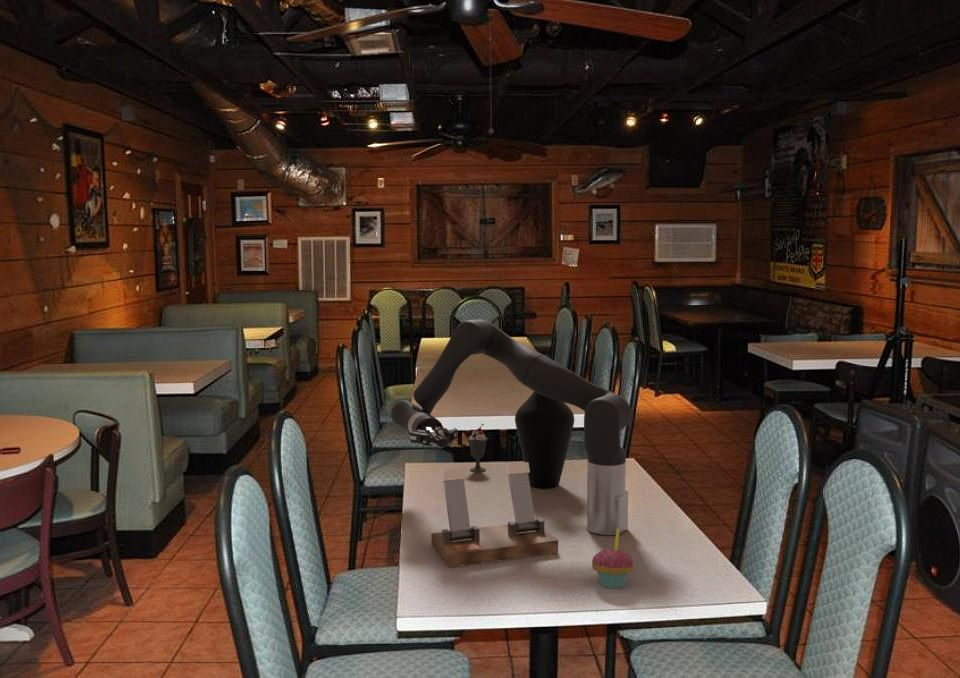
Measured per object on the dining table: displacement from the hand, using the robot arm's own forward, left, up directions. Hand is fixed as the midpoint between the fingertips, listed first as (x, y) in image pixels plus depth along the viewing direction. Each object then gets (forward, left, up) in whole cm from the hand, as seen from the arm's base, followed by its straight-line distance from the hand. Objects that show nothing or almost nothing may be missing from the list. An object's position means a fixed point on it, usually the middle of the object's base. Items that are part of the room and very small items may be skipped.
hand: (443, 443), depth 201 cm
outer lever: (-12, +11, -19) cm, 25 cm away
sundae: (+21, -51, -22) cm, 59 cm away
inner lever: (-22, -1, -19) cm, 29 cm away
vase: (-4, -47, -22) cm, 52 cm away
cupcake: (-48, +9, -22) cm, 53 cm away
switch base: (-17, +5, -22) cm, 28 cm away
